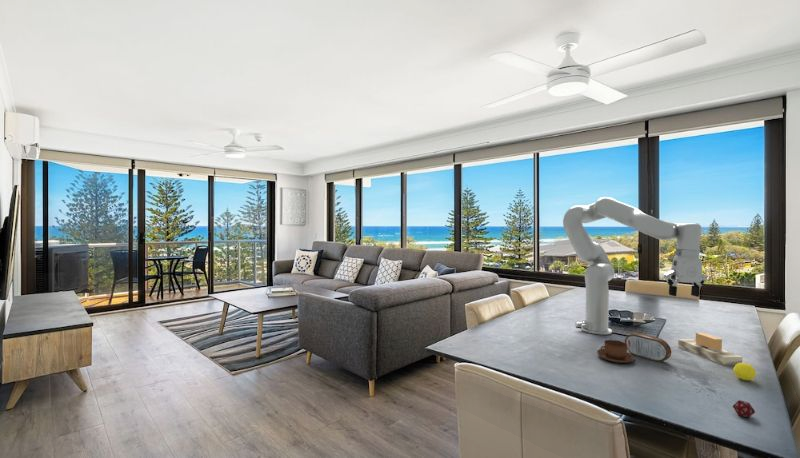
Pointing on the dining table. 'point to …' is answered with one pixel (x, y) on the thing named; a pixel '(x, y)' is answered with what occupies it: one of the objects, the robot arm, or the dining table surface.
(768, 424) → the dining table surface
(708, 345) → the light orange block
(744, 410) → the dice
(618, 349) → the cup and saucer
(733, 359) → the rail
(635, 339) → the tin
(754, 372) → the lemon
